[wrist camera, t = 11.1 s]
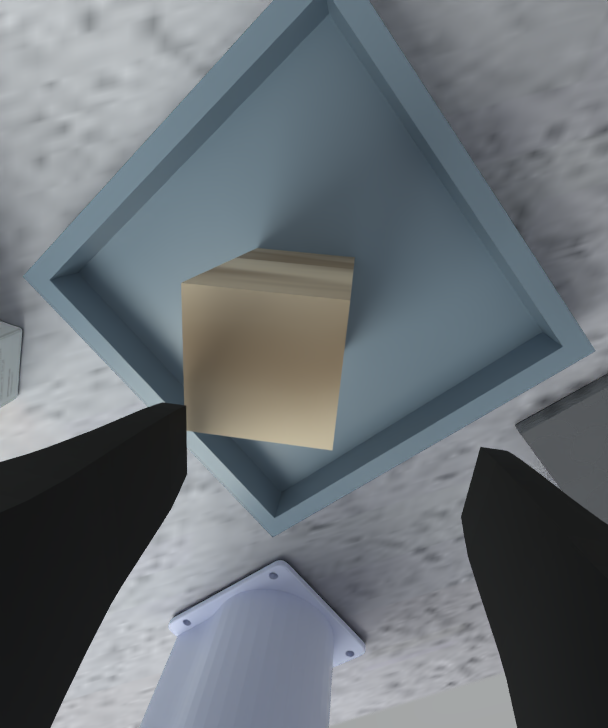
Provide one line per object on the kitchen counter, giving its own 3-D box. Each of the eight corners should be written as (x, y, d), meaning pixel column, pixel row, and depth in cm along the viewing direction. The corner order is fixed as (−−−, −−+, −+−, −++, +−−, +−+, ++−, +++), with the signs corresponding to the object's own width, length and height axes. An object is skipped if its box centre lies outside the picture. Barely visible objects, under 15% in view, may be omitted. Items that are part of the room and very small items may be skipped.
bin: (281, 502, 23) (272, 537, 20) (62, 267, 20) (22, 276, 17) (565, 331, 18) (595, 350, 16) (334, -20, 15) (329, -62, 12)
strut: (343, 351, 19) (332, 450, 11) (253, 340, 19) (184, 430, 12) (354, 257, 17) (350, 300, 10) (257, 247, 18) (181, 283, 10)
